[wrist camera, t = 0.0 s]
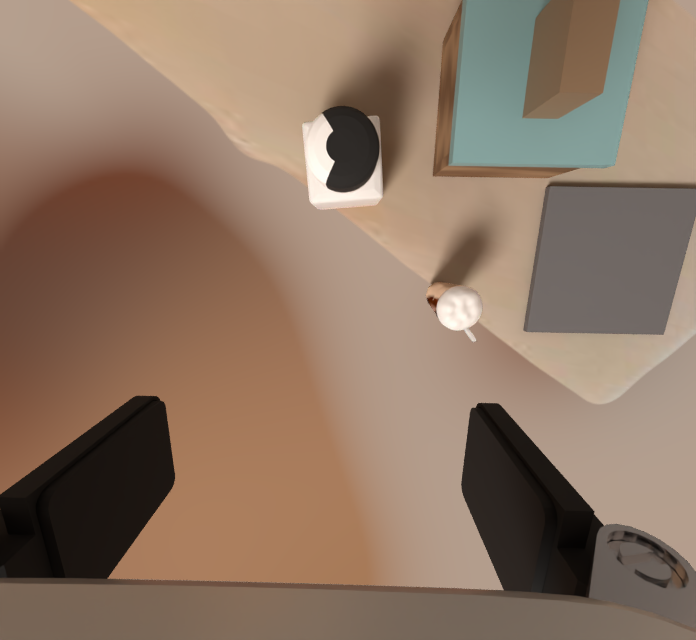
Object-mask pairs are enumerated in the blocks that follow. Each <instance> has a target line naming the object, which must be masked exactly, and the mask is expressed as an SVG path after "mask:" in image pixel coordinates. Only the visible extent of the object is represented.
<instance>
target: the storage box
mask: <svg viewBox="0 0 696 640" xmlns="http://www.w3.org/2000/svg"><path fill="white" fill-rule="evenodd" d="M462 3H463V0H462V2H461V4H460V6H459V8H458V10H457V13H456V15H455V17H454V19H453V21H452V23H451V25H450V28H449V30H448V32H447V34H446V36H445V38H444V41H443V50H442V63H441V76H440V89H439V103H438V116H437V129H436V142H435V155H434V168H433V176H452V177H515V178H549V177H552V176H556V175H559V174H562V173H566V172H569V171H572V170H575V169H579V168H559V167H496V166H448V164H449V153H450V141H451V130H452V118H453V107H454V95H455V84H456V72H457V61H458V49H459V37H460V26H461V14H462Z"/></svg>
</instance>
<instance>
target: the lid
mask: <svg viewBox="0 0 696 640" xmlns="http://www.w3.org/2000/svg"><path fill="white" fill-rule="evenodd" d="M647 5H648V0H463V3H462V14H461V26H460V37H459V49H458V61H457V72H456V84H455V95H454V107H453V118H452V130H451V141H450V153H449V164H448V166H496V167H559V168H607V167H611V166H614V165H615V162H616V157H617V152H618V147H619V142H620V138H621V133H622V128H623V123H624V118H625V113H626V108H627V103H628V98H629V94H630V89H631V84H632V79H633V74H634V69H635V64H636V59H637V54H638V49H639V45H640V40H641V35H642V30H643V25H644V20H645V15H646V10H647Z"/></svg>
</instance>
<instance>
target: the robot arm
mask: <svg viewBox="0 0 696 640" xmlns="http://www.w3.org/2000/svg"><path fill="white" fill-rule="evenodd" d="M174 481H175V472H174V465H173V458H172V451H171V443H170V436H169V428H168V421H167V414H166V407H165V404H164V402H162V401H160V399H159V398H158V397H157V396H135V397H133V398H132V399H130V400H129V401H128V402H126V403H125V404H124V405H122V406H121V407H119V408H118V409H117V410H115V411H114V412H113V413H111V414H110V415H109V416H107V417H106V418H105V419H103V420H102V421H100V422H99V423H98V424H96V425H95V426H93V427H92V428H91V429H89V430H88V431H87V432H85V433H84V434H83V435H81V436H80V437H79V438H77V439H76V440H74V441H73V442H72V443H71V444H69V445H68V446H66V447H65V448H63V449H62V450H61V451H59V452H58V453H57V454H55V455H54V456H52V457H51V458H50V459H48V460H47V461H46V462H44V463H43V464H41V465H40V466H39V467H37V468H36V469H35V470H33V471H32V472H31V473H29V474H28V475H26V476H25V477H24V478H22V479H21V480H20V481H18V482H17V483H16V484H14V485H13V486H11V487H10V488H9V489H7V490H6V491H5V492H3V493H2V494H0V640H696V571H695V570H694V569H693V568H692V566H691V565H690V564H689V563H688V561H687V560H685V559H684V558H683V557H682V556H681V555H680V554H679V553H678V552H677V551H675V550H674V549H673V548H671V547H670V546H668V545H667V544H665V543H664V542H663V541H661V540H660V539H657V538H656V537H654V536H652V535H650V534H648V533H646V532H644V531H641V530H638V529H636V528H633V527H630V526H625V525H619V524H609V525H605V526H604V525H603V524H602V523H601V522H600V521H599V519H598V518H597V517H596V516H595V515H594V511H593V509H592V508H591V507H590V506H589V505H588V504H587V503H586V502H585V500H584V499H583V498H582V497H581V496H580V495H579V494H578V492H577V491H576V490H575V489H574V488H573V487H572V486H571V484H570V483H569V482H568V481H567V480H566V479H565V478H564V477H563V475H562V474H561V473H560V472H559V471H558V470H557V469H556V468H555V466H554V465H553V464H552V463H551V462H550V461H549V460H548V459H547V457H546V456H545V455H544V454H543V453H542V452H541V451H540V450H539V448H538V447H537V446H536V445H535V444H534V443H533V441H532V440H531V439H530V438H529V437H528V436H527V435H526V434H525V433H524V431H523V430H522V429H521V428H520V427H519V426H518V425H517V423H516V422H515V421H514V420H513V419H512V418H511V417H510V416H509V414H508V413H507V412H506V411H505V410H504V409H503V408H502V406H501V405H499V404H497V403H478V404H477V406H476V408H472V409H471V412H470V418H469V426H468V434H467V442H466V450H465V458H464V466H463V474H462V484H461V485H462V493H463V496H464V498H465V501H466V503H467V505H468V508H469V510H470V513H471V515H472V517H473V519H474V522H475V524H476V526H477V529H478V531H479V533H480V536H481V538H482V540H483V543H484V545H485V547H486V550H487V552H488V554H489V557H490V559H491V561H492V563H493V566H494V568H495V571H496V573H497V575H498V578H499V580H500V582H501V585H502V587H503V589H504V590H481V589H462V588H434V587H405V586H374V585H373V586H372V585H343V584H308V583H270V582H230V581H191V580H189V581H188V580H139V579H137V580H136V579H107V578H108V577H109V575H110V574H111V573H112V571H113V570H114V568H115V567H116V566H117V564H118V562H119V561H120V560H121V559H122V557H123V556H124V555H125V553H126V552H127V550H128V549H129V548H130V546H131V545H132V543H133V542H134V541H135V539H136V538H137V536H138V535H139V534H140V532H141V531H142V529H143V528H144V527H145V525H146V524H147V522H148V521H149V520H150V518H151V517H152V516H153V514H154V513H155V511H156V510H157V509H158V507H159V506H160V504H161V503H162V502H163V500H164V499H165V497H166V496H167V495H168V493H169V492H170V490H171V489H172V487H173V485H174Z"/></svg>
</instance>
